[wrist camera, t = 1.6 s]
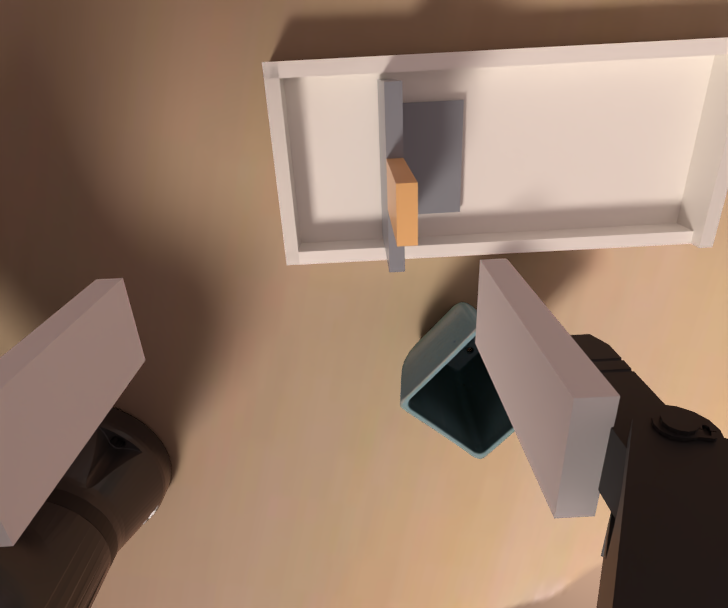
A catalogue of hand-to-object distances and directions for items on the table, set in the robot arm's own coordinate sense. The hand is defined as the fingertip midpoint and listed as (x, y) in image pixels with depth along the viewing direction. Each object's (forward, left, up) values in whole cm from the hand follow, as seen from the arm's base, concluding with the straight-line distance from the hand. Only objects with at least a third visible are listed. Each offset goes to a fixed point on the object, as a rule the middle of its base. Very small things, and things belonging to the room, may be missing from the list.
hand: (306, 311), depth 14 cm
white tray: (+12, 0, -26) cm, 28 cm away
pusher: (+6, 0, -25) cm, 25 cm away
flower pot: (+10, -16, -26) cm, 32 cm away
